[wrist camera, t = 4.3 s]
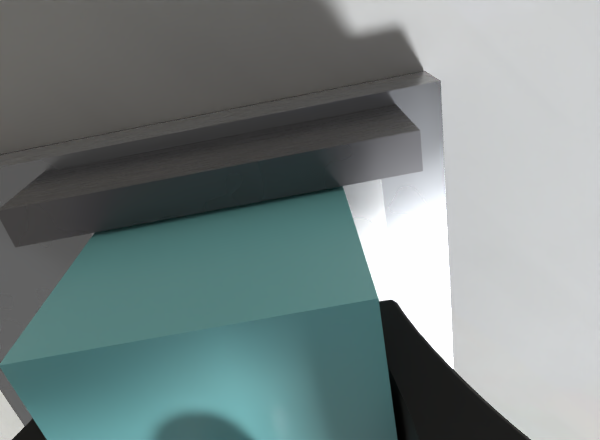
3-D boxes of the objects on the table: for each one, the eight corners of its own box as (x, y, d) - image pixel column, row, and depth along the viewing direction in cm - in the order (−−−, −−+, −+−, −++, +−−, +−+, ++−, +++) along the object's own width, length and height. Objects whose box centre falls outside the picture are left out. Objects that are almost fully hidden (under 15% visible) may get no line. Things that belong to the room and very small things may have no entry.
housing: (334, 161, 10) (395, 355, 5) (366, 361, 13) (429, 625, 8) (115, 203, 11) (-50, 430, 5) (192, 391, 13) (135, 668, 8)
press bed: (424, 70, 11) (484, 108, 8) (450, 500, 19) (485, 607, 16) (-95, 173, 12) (-236, 247, 8) (137, 549, 19) (110, 661, 16)
